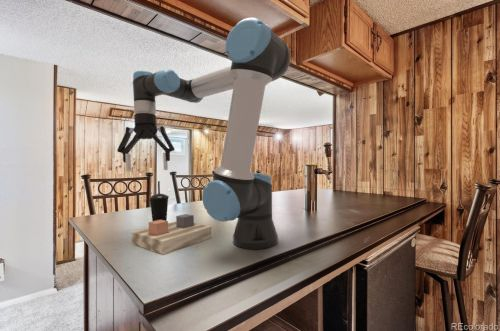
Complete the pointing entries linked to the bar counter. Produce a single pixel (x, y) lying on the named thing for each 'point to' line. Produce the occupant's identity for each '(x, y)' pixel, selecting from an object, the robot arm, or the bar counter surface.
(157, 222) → the salmon block
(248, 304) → the bar counter surface
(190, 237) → the panel
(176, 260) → the bar counter surface
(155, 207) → the drinking cup
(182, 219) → the gray block
